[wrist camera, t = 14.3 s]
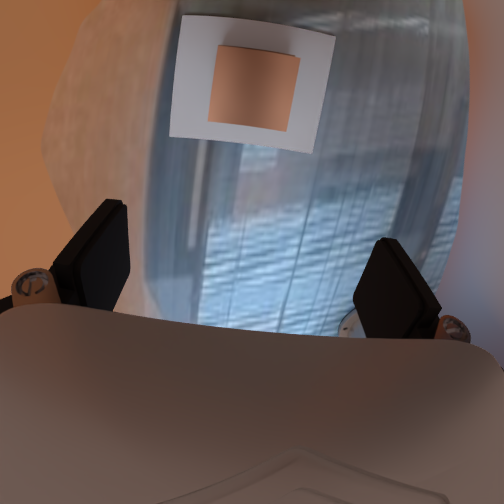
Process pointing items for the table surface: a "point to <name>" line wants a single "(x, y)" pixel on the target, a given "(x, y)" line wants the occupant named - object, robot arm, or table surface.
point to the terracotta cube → (253, 88)
